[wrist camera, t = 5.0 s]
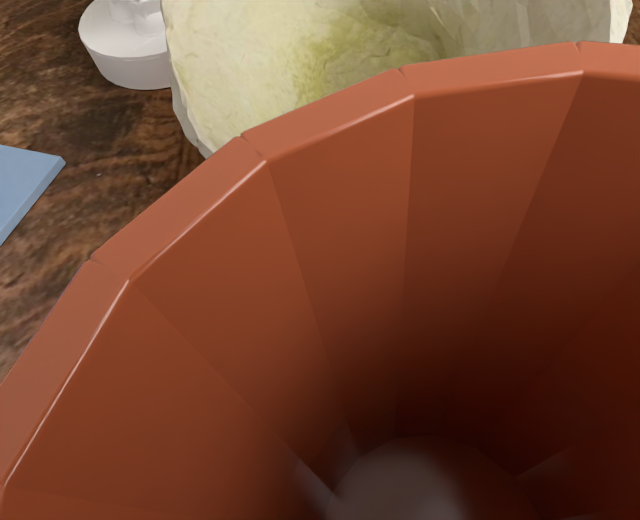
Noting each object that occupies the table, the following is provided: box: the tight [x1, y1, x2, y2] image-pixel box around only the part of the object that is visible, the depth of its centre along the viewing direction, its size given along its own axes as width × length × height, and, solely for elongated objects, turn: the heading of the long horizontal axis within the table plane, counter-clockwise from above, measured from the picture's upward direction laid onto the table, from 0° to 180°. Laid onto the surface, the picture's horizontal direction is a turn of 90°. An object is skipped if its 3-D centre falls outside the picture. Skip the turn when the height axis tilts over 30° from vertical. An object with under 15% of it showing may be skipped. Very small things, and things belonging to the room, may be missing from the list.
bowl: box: [160, 0, 633, 159], centre depth 16 cm, size 15×14×10 cm
